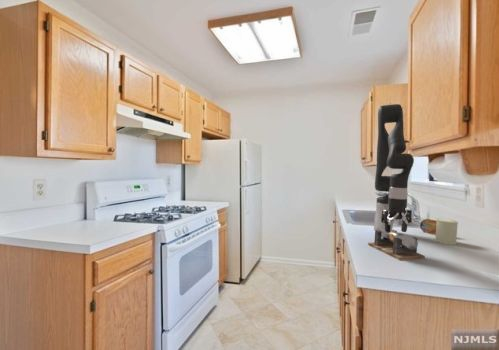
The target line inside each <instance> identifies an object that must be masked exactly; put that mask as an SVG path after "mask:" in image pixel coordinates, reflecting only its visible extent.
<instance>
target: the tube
mask: <svg viewBox="0 0 499 350" xmlns="http://www.w3.org/2000/svg"><path fill="white" fill-rule="evenodd" d="M377 230H379V231H382V234H381V238H384V239H386V240H388V241H391V242H393V238H400V239H401V246H403V247H405V248H408V249H410V250H414V249H416V248H417V249H418V246H419V245H418V244H419V242H418V240H416V239H414V238H412V237H413V236H408V235H406V234H403V233H400V232H398V231H397V232H395V231H396V230H395V231H392V230H393V229H392V230H390V233H387V232H386V231H385V228H384V227H378V228H377Z"/></svg>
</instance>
